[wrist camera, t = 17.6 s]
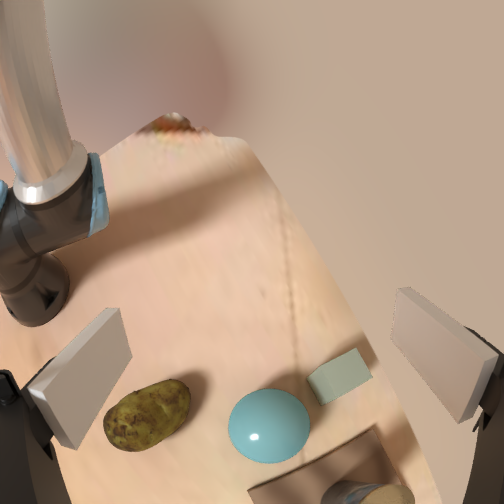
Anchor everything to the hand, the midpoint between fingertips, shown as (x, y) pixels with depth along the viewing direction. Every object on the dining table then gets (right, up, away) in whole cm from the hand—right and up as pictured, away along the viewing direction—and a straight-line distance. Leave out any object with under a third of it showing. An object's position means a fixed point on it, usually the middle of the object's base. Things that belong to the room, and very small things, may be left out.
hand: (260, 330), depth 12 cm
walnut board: (+11, -32, +15) cm, 37 cm away
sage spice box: (+12, -17, +27) cm, 34 cm away
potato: (-14, -20, +22) cm, 33 cm away
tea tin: (+12, -31, +14) cm, 36 cm away
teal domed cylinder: (+1, -21, +22) cm, 31 cm away
